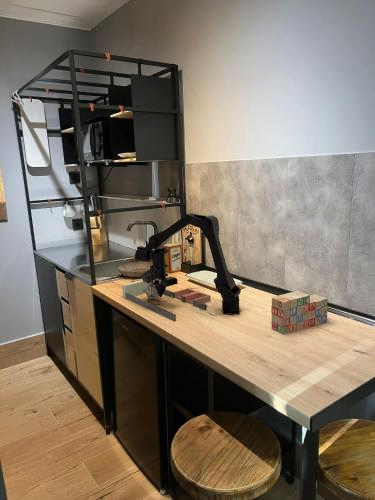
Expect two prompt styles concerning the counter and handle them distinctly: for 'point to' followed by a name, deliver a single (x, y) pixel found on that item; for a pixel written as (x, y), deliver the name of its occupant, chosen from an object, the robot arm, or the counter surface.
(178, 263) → the baking soda box
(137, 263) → the ceramic bowl
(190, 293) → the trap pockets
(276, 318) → the stack of blocks
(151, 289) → the game die
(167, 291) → the lane rails
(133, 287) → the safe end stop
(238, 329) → the counter surface
